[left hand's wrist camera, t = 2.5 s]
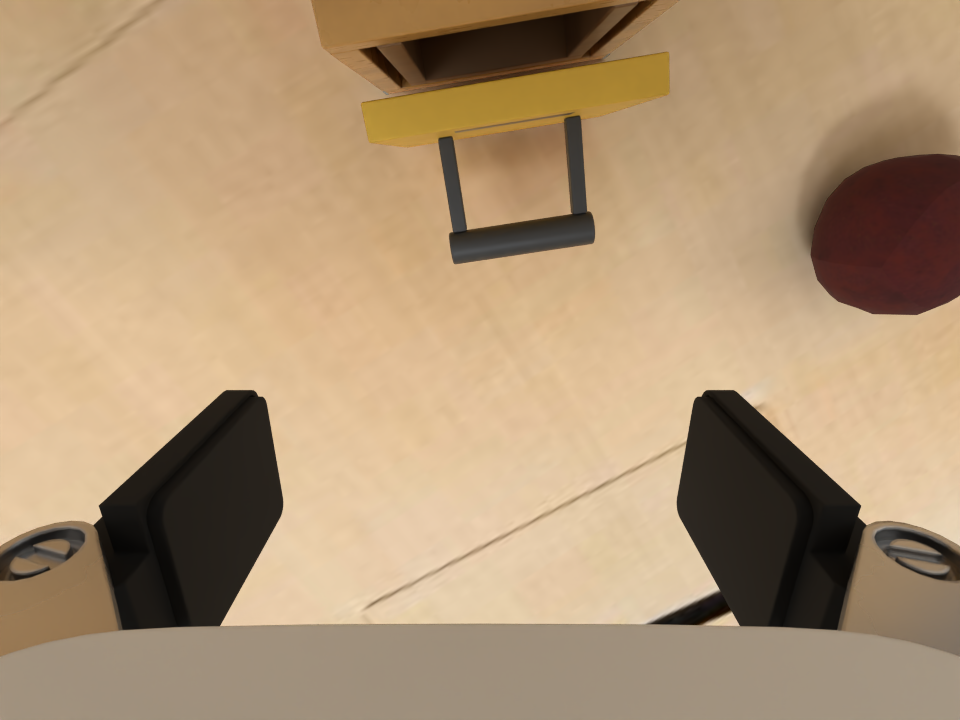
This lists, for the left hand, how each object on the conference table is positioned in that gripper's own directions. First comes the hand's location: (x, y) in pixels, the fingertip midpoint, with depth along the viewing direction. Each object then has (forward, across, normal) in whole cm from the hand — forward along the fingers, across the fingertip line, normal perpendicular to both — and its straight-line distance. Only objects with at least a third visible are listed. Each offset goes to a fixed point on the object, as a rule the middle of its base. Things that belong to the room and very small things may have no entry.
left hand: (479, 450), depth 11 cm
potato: (+19, +20, +2) cm, 28 cm away
